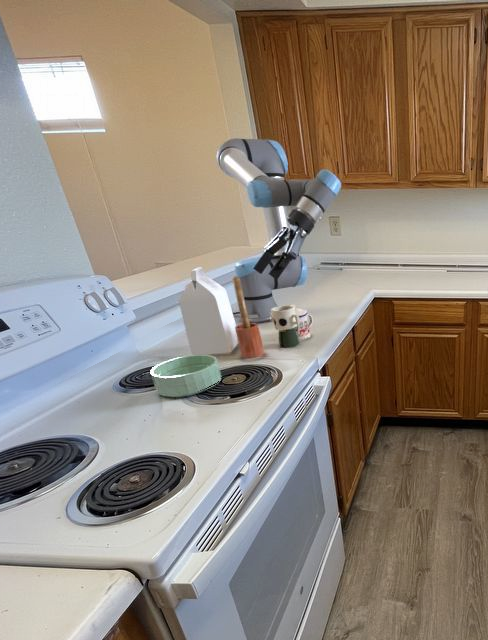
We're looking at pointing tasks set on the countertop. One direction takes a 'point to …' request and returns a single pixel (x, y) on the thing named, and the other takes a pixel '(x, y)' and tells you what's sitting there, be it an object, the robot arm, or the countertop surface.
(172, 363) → the bowl
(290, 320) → the character mug
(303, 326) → the white patterned mug
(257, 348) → the utensil crock
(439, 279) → the countertop surface
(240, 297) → the stirring stick
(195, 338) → the milk
